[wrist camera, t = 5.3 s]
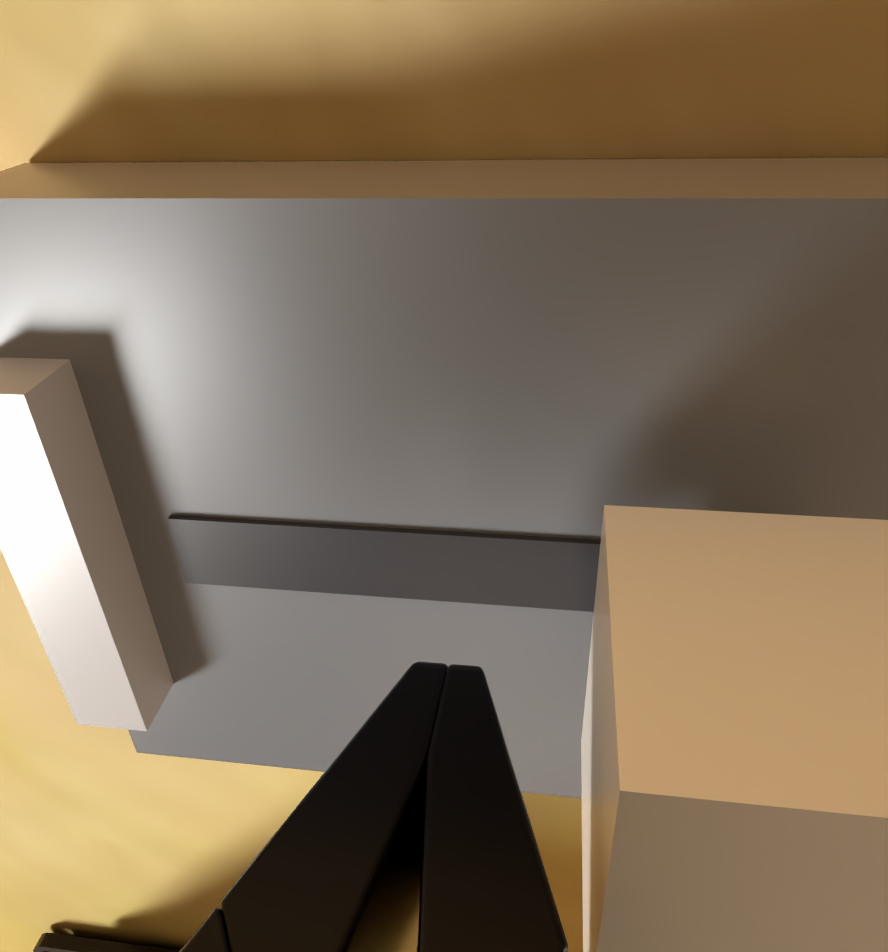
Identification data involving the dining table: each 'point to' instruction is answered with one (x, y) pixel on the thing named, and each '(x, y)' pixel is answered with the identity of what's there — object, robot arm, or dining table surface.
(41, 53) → the dining table surface
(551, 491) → the fader console
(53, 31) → the dining table surface
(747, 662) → the fader tab
